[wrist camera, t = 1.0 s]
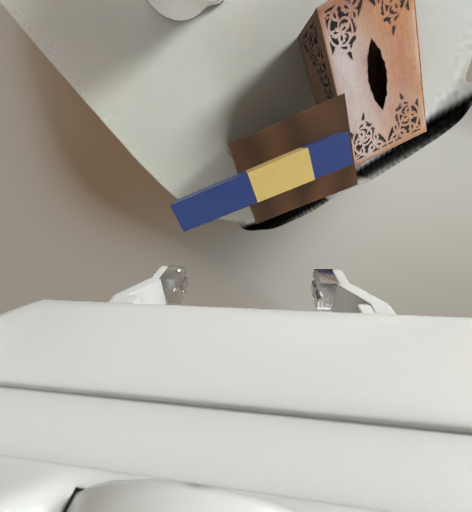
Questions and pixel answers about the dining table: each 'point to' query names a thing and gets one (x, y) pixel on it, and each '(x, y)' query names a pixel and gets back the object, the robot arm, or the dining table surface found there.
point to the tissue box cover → (368, 69)
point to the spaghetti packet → (264, 181)
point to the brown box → (288, 139)
